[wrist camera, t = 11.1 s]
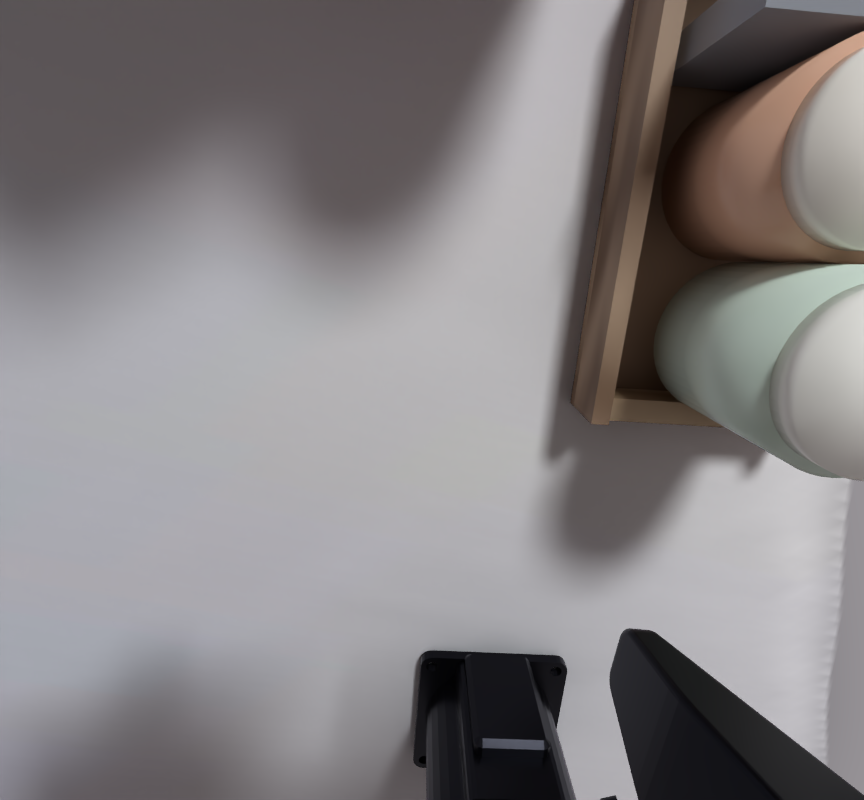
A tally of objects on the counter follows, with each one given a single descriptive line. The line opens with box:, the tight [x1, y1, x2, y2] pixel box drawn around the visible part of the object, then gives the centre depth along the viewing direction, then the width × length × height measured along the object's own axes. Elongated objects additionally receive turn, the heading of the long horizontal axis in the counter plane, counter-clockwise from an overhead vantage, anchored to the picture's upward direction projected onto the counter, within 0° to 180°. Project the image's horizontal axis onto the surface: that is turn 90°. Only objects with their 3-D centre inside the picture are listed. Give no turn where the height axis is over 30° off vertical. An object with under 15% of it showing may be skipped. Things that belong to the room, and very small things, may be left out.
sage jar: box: [654, 261, 864, 481], centre depth 13 cm, size 5×5×6 cm
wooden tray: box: [570, 0, 864, 427], centre depth 16 cm, size 14×9×2 cm, turn 176°
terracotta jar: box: [661, 31, 864, 264], centre depth 13 cm, size 5×5×6 cm
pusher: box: [672, 0, 864, 92], centre depth 13 cm, size 1×7×5 cm, turn 87°
